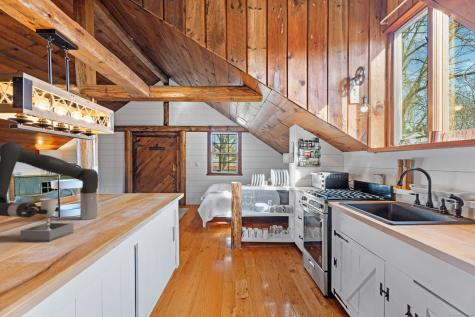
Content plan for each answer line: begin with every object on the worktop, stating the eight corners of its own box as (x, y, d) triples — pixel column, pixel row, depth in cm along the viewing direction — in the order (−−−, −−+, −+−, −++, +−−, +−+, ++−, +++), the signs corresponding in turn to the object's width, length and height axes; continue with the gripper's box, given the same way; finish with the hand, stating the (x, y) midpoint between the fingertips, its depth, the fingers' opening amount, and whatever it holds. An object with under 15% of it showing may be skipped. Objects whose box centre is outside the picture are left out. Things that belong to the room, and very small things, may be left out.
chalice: (40, 237, 118) (41, 200, 118) (36, 234, 122) (37, 199, 122) (58, 233, 124) (59, 198, 124) (54, 231, 128) (55, 197, 128)
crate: (47, 231, 131) (47, 222, 131) (73, 232, 130) (73, 223, 130) (20, 240, 116) (20, 230, 116) (49, 241, 115) (49, 231, 115)
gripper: (8, 205, 117) (40, 205, 116) (35, 200, 131) (64, 200, 130) (8, 220, 117) (40, 221, 116) (35, 214, 131) (64, 214, 130)
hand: (52, 210), depth 123 cm, fingers open, 6 cm apart
